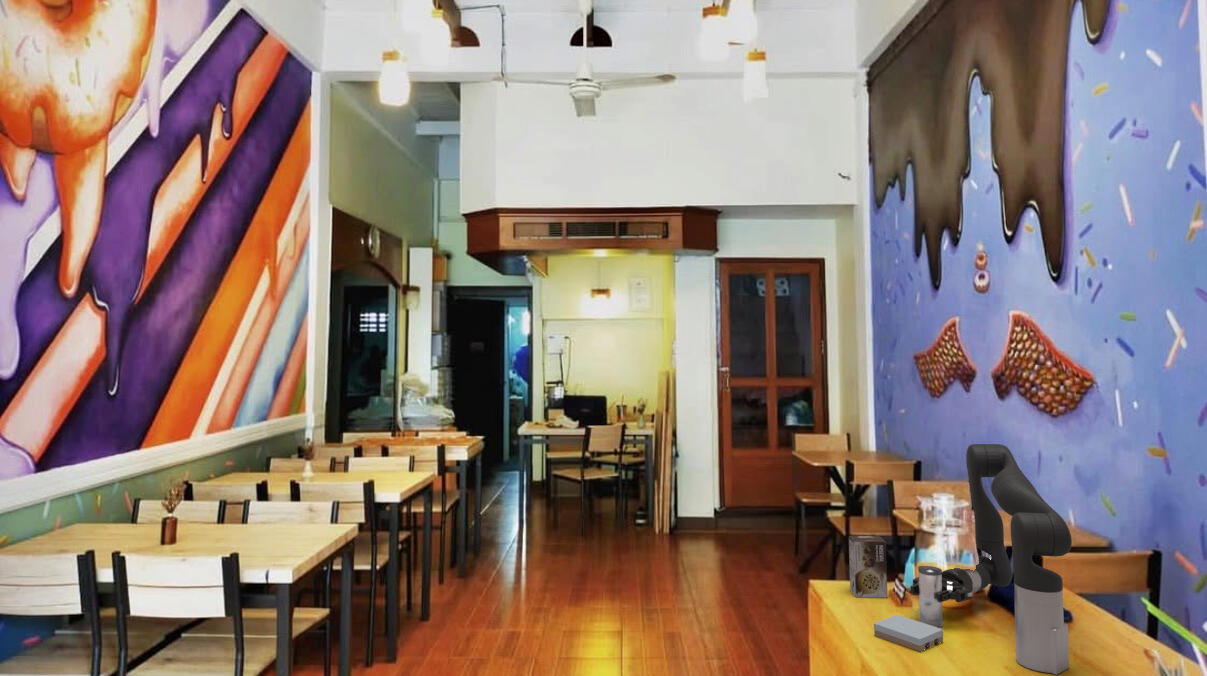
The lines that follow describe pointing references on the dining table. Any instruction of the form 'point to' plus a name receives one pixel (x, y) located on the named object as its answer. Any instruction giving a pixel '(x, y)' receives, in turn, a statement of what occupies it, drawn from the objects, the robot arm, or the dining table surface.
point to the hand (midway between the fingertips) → (925, 594)
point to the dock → (908, 632)
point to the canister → (930, 596)
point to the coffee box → (868, 566)
